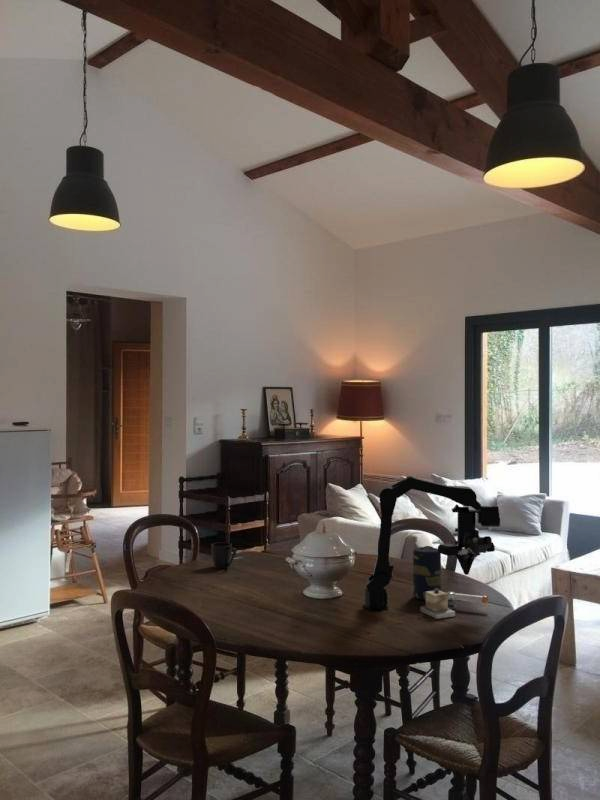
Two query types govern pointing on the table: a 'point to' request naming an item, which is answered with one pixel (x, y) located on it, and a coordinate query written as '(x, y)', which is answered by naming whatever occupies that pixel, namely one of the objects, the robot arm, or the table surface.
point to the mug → (222, 554)
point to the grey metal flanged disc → (452, 604)
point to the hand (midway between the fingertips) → (466, 574)
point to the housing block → (436, 600)
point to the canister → (426, 571)
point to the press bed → (438, 613)
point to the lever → (467, 597)
